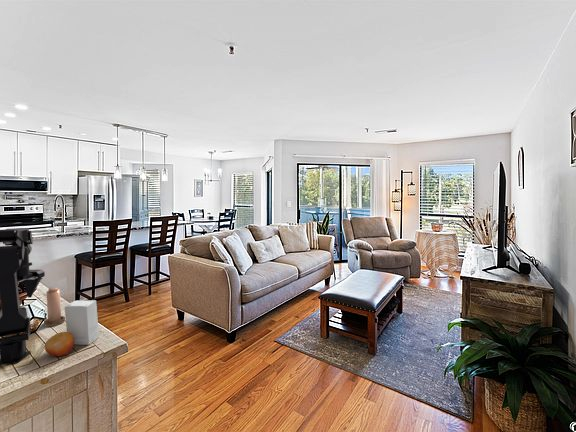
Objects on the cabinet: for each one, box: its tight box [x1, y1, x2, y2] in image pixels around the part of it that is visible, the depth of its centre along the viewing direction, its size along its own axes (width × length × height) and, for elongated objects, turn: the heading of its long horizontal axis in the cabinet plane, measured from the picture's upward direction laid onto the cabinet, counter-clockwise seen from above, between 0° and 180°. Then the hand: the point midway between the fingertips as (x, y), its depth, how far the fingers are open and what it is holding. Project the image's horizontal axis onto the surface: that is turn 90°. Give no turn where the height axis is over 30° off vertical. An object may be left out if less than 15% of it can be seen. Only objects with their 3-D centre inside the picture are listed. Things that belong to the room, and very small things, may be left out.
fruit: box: [44, 331, 74, 357], centre depth 101 cm, size 8×8×8 cm
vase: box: [46, 287, 62, 323], centre depth 122 cm, size 4×4×14 cm
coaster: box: [43, 315, 66, 327], centre depth 123 cm, size 7×7×1 cm
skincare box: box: [64, 299, 100, 346], centre depth 108 cm, size 8×6×15 cm
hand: (20, 301), depth 111 cm, fingers open, 9 cm apart
